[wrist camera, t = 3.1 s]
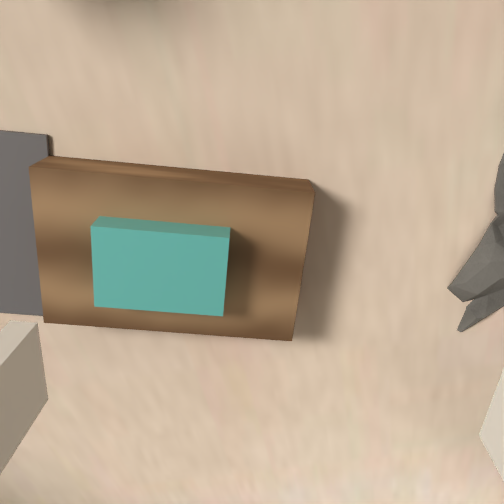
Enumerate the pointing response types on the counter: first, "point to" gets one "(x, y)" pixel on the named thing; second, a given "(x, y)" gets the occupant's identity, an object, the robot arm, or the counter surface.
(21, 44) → the counter surface
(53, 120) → the counter surface
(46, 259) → the brown wooden slab
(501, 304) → the cloth
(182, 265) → the rectangular block
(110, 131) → the counter surface
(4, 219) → the mat
